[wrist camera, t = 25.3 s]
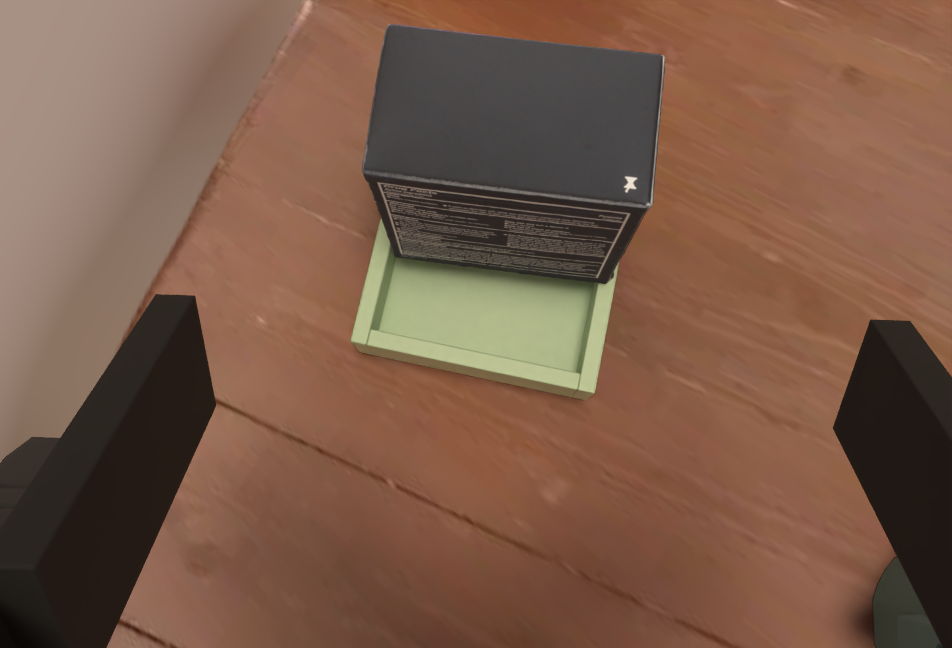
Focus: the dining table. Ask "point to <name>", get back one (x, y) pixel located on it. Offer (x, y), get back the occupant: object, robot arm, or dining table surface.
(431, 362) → the tray
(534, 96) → the small box
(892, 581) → the bracket
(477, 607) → the dining table surface
